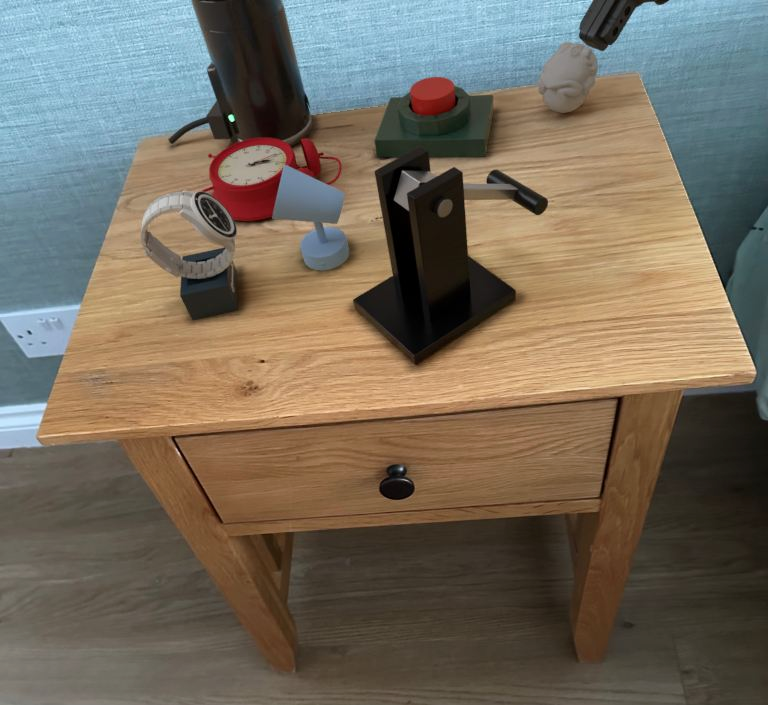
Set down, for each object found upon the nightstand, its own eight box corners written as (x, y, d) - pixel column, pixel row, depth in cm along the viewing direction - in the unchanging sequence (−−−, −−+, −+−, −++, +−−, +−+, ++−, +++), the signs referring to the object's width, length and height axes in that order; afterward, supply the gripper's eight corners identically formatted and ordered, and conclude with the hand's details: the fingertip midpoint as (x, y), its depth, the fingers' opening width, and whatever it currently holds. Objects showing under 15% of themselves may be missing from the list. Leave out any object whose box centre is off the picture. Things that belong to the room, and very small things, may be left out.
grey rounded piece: (606, 102, 78) (613, 41, 73) (568, 130, 76) (572, 69, 71) (562, 87, 82) (565, 28, 77) (524, 114, 79) (524, 54, 74)
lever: (494, 190, 62) (503, 164, 61) (542, 220, 58) (553, 193, 57) (378, 190, 54) (386, 160, 52) (426, 224, 50) (436, 193, 49)
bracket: (450, 251, 65) (438, 118, 55) (516, 299, 60) (516, 162, 50) (354, 308, 62) (323, 179, 52) (415, 365, 57) (393, 233, 46)
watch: (258, 305, 64) (221, 209, 56) (173, 323, 64) (123, 230, 56) (256, 266, 68) (221, 171, 60) (176, 283, 68) (129, 190, 60)
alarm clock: (205, 142, 78) (327, 101, 73) (234, 187, 82) (350, 151, 77) (182, 199, 71) (315, 158, 66) (214, 244, 75) (341, 209, 71)
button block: (377, 157, 78) (371, 125, 75) (392, 114, 83) (388, 82, 80) (485, 157, 75) (483, 123, 72) (493, 112, 80) (492, 79, 77)
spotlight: (284, 275, 66) (355, 269, 66) (255, 188, 59) (335, 180, 58) (290, 241, 70) (358, 235, 69) (263, 155, 62) (339, 147, 61)
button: (408, 117, 75) (406, 100, 74) (416, 94, 78) (414, 77, 77) (452, 116, 74) (451, 98, 73) (458, 93, 77) (457, 75, 76)
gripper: (633, -238, 50) (506, 0, 55) (807, -228, 42) (639, 49, 47) (671, -169, 55) (552, 41, 61) (831, -149, 47) (678, 91, 53)
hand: (590, 44), depth 54 cm, fingers closed
